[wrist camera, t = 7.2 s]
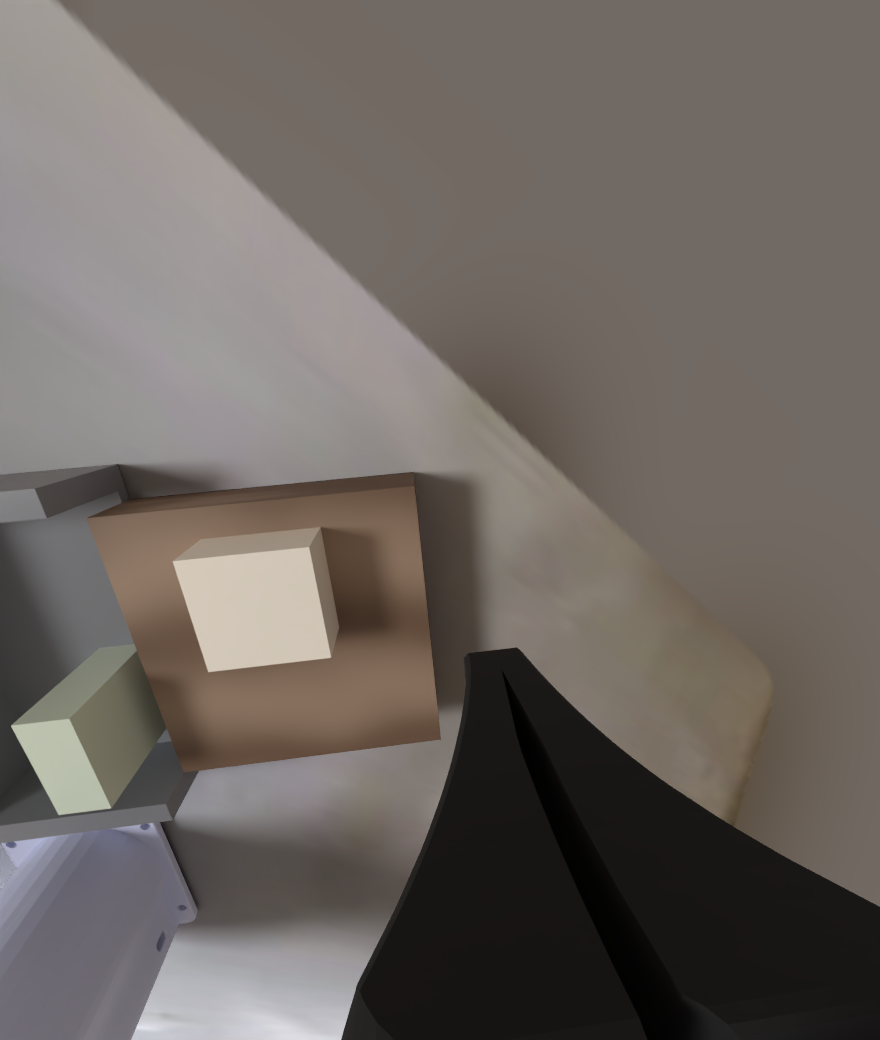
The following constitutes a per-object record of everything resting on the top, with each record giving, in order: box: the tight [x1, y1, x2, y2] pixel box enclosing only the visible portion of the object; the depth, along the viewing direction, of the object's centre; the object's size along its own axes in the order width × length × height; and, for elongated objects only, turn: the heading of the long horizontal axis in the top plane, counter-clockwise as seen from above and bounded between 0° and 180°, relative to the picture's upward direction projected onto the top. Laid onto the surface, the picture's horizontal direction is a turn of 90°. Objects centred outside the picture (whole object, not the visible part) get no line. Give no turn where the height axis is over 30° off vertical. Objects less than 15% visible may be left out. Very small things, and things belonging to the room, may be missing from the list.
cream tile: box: [173, 527, 339, 672], centre depth 15 cm, size 4×4×2 cm
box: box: [0, 464, 198, 843], centre depth 17 cm, size 15×9×4 cm, turn 5°
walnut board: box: [86, 472, 441, 772], centre depth 19 cm, size 12×12×2 cm
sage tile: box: [11, 644, 166, 815], centre depth 18 cm, size 4×4×2 cm
